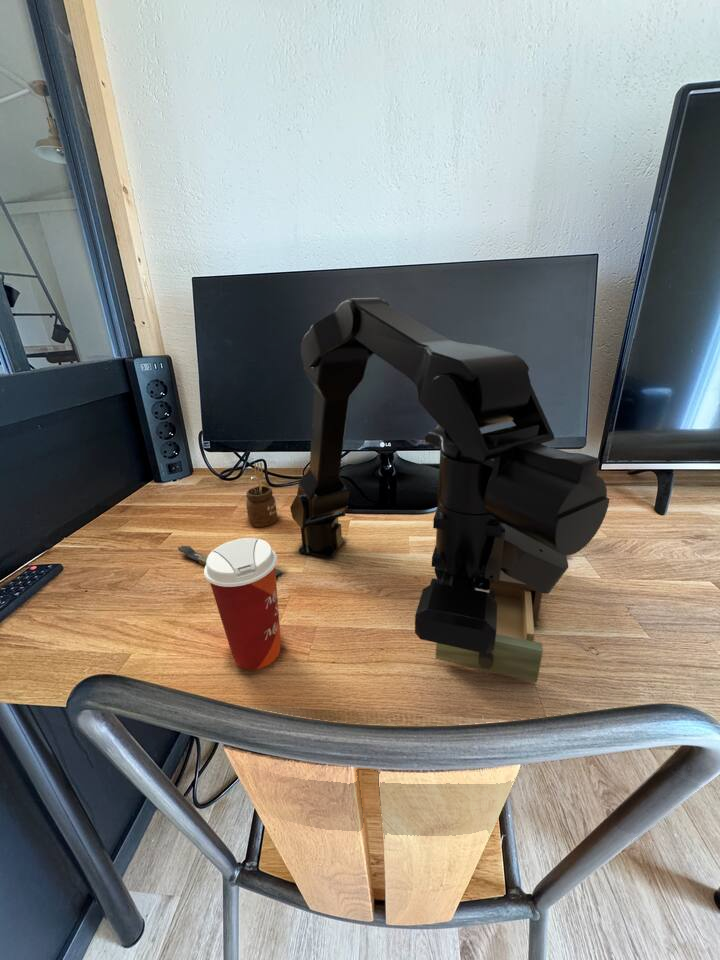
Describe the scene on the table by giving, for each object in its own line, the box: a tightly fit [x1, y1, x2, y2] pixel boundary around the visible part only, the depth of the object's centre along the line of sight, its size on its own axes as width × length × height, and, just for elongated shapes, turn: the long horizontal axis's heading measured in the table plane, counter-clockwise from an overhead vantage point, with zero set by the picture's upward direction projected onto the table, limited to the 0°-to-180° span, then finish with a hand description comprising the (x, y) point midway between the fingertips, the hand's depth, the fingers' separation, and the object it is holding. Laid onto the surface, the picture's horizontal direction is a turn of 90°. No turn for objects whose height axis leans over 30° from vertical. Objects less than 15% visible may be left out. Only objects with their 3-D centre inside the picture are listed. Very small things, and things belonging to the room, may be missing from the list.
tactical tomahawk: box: [177, 545, 283, 577], centre depth 70 cm, size 21×7×1 cm, turn 57°
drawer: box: [435, 583, 544, 683], centre depth 51 cm, size 15×11×5 cm
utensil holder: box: [245, 461, 278, 528], centre depth 82 cm, size 6×6×12 cm
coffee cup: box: [203, 537, 282, 671], centre depth 49 cm, size 8×8×15 cm
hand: (459, 632), depth 42 cm, fingers closed
